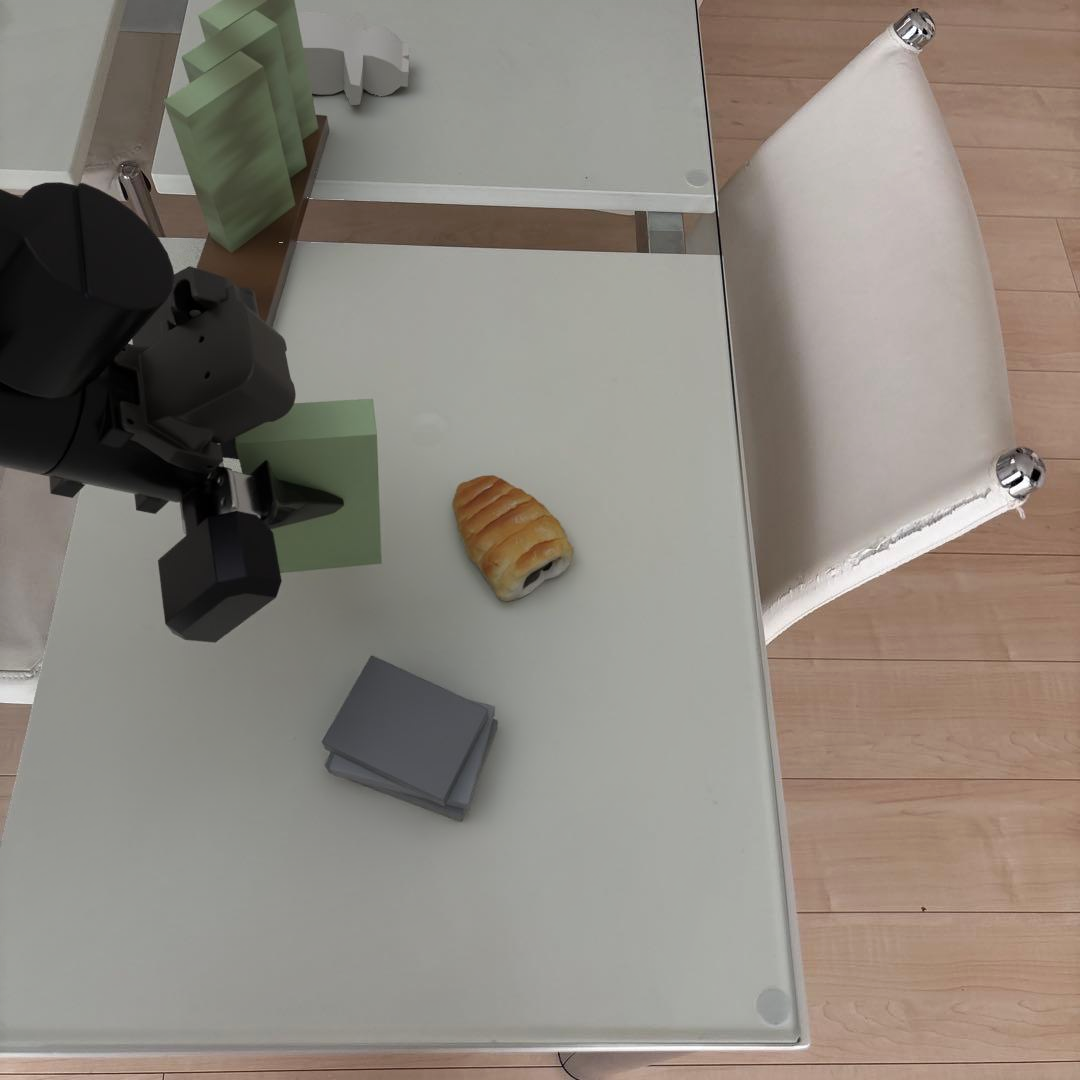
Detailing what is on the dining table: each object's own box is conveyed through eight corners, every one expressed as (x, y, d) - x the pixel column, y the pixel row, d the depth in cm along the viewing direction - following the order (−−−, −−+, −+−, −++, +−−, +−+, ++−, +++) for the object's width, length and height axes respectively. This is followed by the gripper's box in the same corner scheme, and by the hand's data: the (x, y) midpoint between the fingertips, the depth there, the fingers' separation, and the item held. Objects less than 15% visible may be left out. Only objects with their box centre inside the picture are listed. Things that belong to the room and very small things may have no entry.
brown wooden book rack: (251, 399, 72) (200, 265, 59) (164, 388, 72) (94, 252, 59) (329, 129, 85) (302, -30, 72) (255, 120, 85) (214, -40, 72)
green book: (266, 574, 59) (235, 443, 48) (264, 541, 60) (234, 406, 49) (381, 563, 60) (376, 434, 49) (378, 531, 61) (372, 398, 50)
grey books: (325, 776, 60) (312, 757, 56) (371, 676, 63) (363, 649, 59) (463, 829, 59) (462, 814, 55) (503, 724, 62) (505, 701, 58)
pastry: (429, 514, 69) (426, 488, 65) (505, 468, 71) (507, 440, 68) (505, 614, 66) (507, 592, 62) (583, 562, 68) (588, 538, 64)
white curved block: (408, 78, 83) (227, 56, 80) (405, 126, 87) (234, 107, 85) (410, 6, 87) (239, -17, 84) (408, 56, 92) (244, 35, 89)
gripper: (172, 504, 35) (471, 565, 46) (126, 141, 42) (393, 273, 54) (32, 632, 40) (330, 657, 52) (14, 292, 48) (277, 381, 60)
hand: (334, 484), depth 54 cm, fingers closed on green book, 3 cm apart
